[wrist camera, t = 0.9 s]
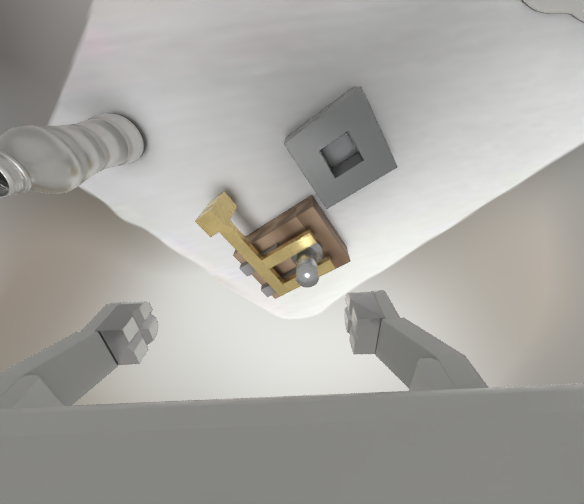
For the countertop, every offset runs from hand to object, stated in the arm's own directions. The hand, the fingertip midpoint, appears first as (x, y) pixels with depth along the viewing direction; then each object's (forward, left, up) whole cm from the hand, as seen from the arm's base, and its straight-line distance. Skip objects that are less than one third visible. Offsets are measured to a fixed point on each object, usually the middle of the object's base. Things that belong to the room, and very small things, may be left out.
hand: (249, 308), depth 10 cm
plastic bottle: (+19, -15, -33) cm, 40 cm away
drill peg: (+6, +14, -32) cm, 36 cm away
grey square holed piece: (-6, +4, -32) cm, 33 cm away
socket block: (+9, +14, -32) cm, 36 cm away
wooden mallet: (+9, +9, -30) cm, 32 cm away
